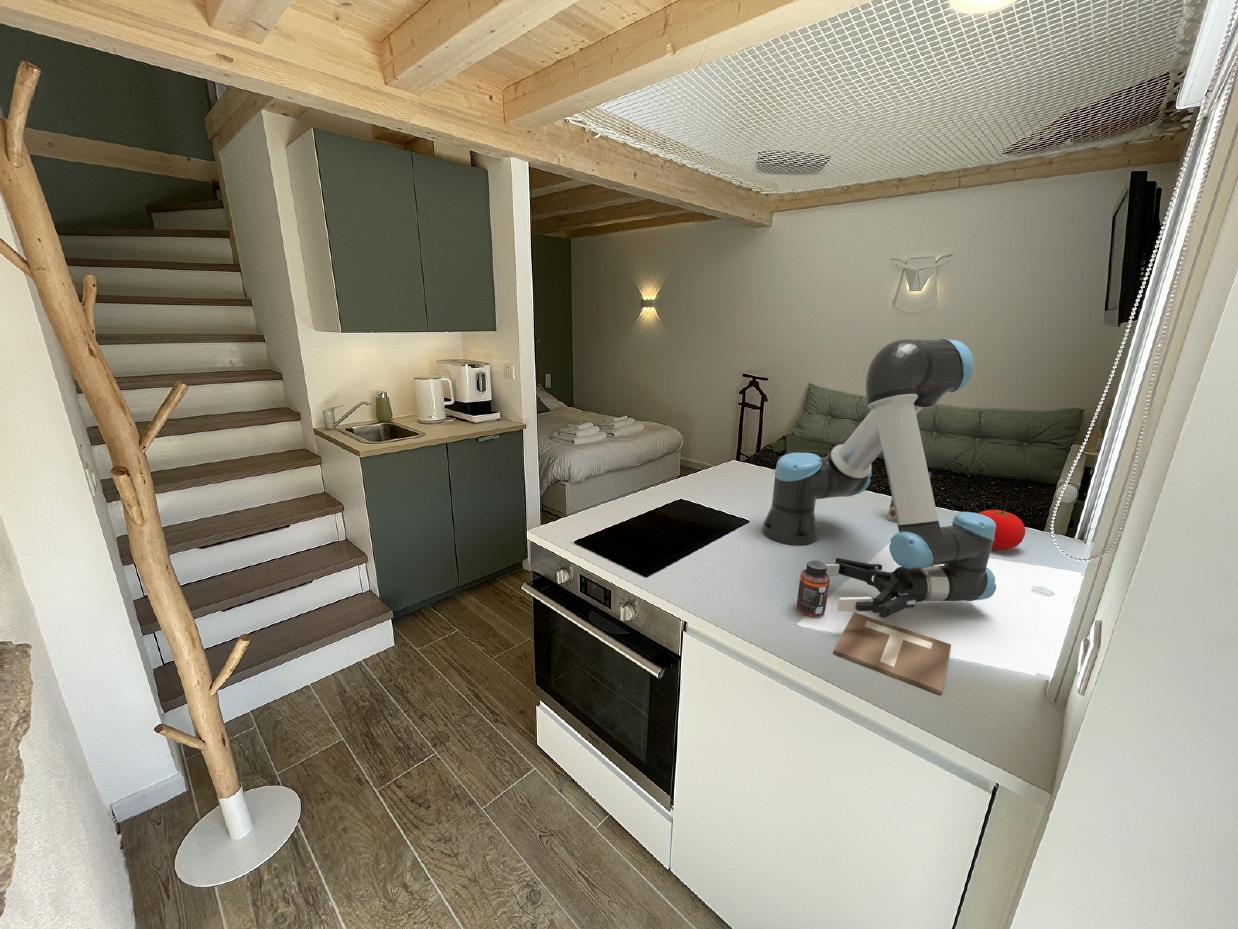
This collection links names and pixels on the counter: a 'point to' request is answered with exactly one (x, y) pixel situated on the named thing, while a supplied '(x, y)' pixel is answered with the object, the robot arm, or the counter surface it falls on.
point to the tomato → (1006, 529)
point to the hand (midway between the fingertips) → (823, 586)
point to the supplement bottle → (813, 589)
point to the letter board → (895, 651)
